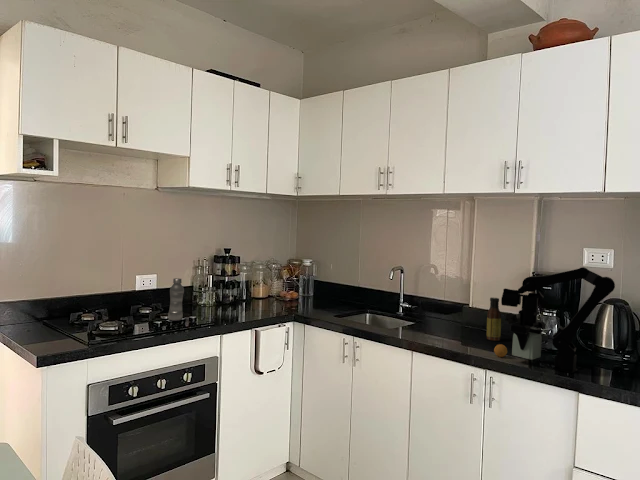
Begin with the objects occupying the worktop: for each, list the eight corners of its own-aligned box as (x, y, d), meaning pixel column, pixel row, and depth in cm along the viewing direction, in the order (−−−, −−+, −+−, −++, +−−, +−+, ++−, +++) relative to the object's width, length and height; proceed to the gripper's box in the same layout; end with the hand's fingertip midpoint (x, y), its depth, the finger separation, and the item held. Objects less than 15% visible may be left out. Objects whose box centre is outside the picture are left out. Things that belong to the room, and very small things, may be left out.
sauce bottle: (502, 340, 234) (505, 298, 233) (497, 342, 229) (499, 299, 229) (488, 337, 238) (491, 296, 238) (483, 339, 233) (486, 297, 233)
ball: (509, 357, 201) (509, 345, 201) (503, 359, 198) (503, 346, 198) (497, 354, 205) (498, 342, 205) (491, 356, 201) (492, 343, 201)
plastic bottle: (166, 319, 235) (168, 278, 235) (181, 319, 239) (183, 278, 238) (169, 322, 230) (171, 279, 229) (183, 321, 233) (186, 279, 232)
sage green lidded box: (540, 356, 193) (542, 334, 193) (531, 359, 188) (533, 336, 188) (520, 352, 199) (522, 330, 199) (511, 354, 194) (512, 332, 194)
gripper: (520, 304, 205) (517, 341, 206) (498, 307, 193) (495, 346, 193) (547, 308, 197) (544, 347, 198) (526, 311, 184) (523, 353, 185)
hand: (526, 348), depth 193 cm, fingers closed on sage green lidded box, 8 cm apart
